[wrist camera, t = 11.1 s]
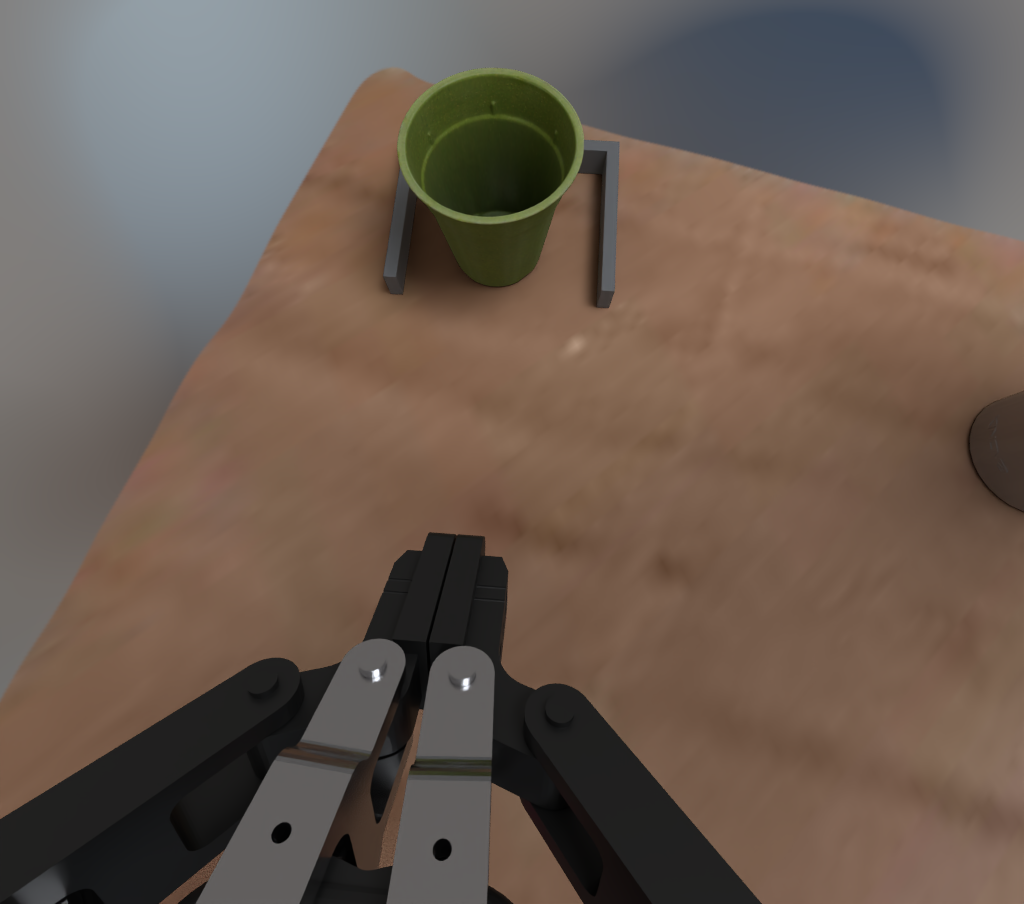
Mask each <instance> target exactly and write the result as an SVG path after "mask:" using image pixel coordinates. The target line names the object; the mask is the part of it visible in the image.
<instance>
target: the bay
mask: <svg viewBox="0 0 1024 904" xmlns="http://www.w3.org/2000/svg"><path fill="white" fill-rule="evenodd" d="M618 172H619V142H613V141H595V140H584V153H583V159H582V163H581V166H580V169H579V171H578V173H590V174H602V191H601V215H600V239H599V263H598V287H597V307H602V308H609V306H610V303H611V300H612V297H613V294H614V291H615V263H616V233H617V202H618ZM416 199H417V196H416V195H415V194H414V192H413V191H412V190H411V188H410V187H409V186H408V184H407V182H406V180H405V179H404V176H403V174H402V171H401V168H400V172H399V178H398V184H397V191H396V197H395V204H394V210H393V216H392V223H391V229H390V236H389V242H388V248H387V255H386V261H385V268H384V274H383V277H384V279H385V282H386V284H387V286H388V289H389V291H390V293H391V294H403V289H404V282H405V276H406V269H407V262H408V255H409V248H410V241H411V234H412V227H413V220H414V213H415V206H416Z"/></svg>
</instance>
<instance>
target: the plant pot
mask: <svg viewBox="0 0 1024 904" xmlns="http://www.w3.org/2000/svg"><path fill="white" fill-rule="evenodd" d="M397 153H398V160H399V165H400V168H401V171H402V174H403V176H404V179H405V180H406V182H407V184H408V186H409V187H410V188H411V190H412V191H413V192H414V194H415V195H416V196H417V197H418V198H419V199H420V200H421V201H422V202H423V203H424V204H426V205H427V207H428V208H429V210H430V211H431V212H432V213H433V215H434V216H435V218H436V220H437V222H438V224H439V226H440V228H441V230H442V232H443V234H444V236H445V238H446V240H447V242H448V244H449V246H450V248H451V250H452V252H453V254H454V256H455V258H456V260H457V262H458V264H459V266H460V267H461V269H462V270H463V271H464V272H465V273H466V274H467V275H468V276H469V277H470V278H471V279H473V280H474V281H476V282H478V283H481V284H484V285H488V286H507V285H511V284H514V283H516V282H518V281H519V280H521V279H522V278H523V277H525V276H526V275H527V274H528V273H530V272H531V271H532V270H533V269H534V267H535V266H536V264H537V262H538V260H539V257H540V254H541V251H542V248H543V245H544V242H545V239H546V236H547V233H548V230H549V226H550V223H551V220H552V217H553V214H554V211H555V208H556V206H557V205H558V203H559V201H560V199H561V197H562V195H563V194H564V193H565V192H566V191H567V190H568V188H569V187H570V186H571V184H572V183H573V181H574V179H575V177H576V175H577V173H578V171H579V169H580V166H581V163H582V159H583V153H584V135H583V129H582V126H581V123H580V120H579V117H578V115H577V113H576V111H575V110H574V108H573V107H572V105H571V104H570V103H569V102H568V101H567V99H566V98H565V97H564V96H563V95H562V94H561V93H560V92H559V91H558V90H557V89H555V88H554V87H553V86H551V85H550V84H548V83H547V82H545V81H543V80H541V79H539V78H537V77H535V76H533V75H530V74H527V73H524V72H521V71H517V70H512V69H503V68H502V69H501V68H481V69H473V70H469V71H465V72H461V73H458V74H455V75H452V76H450V77H448V78H446V79H443V80H442V81H440V82H438V83H437V84H435V85H434V86H432V87H431V88H429V89H428V90H427V91H425V92H424V93H423V94H422V95H421V96H420V97H419V98H418V99H417V100H416V101H415V102H414V104H413V105H412V106H411V108H410V109H409V111H408V112H407V114H406V116H405V118H404V120H403V122H402V125H401V127H400V131H399V136H398V142H397Z"/></svg>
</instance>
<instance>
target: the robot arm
mask: <svg viewBox="0 0 1024 904" xmlns="http://www.w3.org/2000/svg"><path fill="white" fill-rule="evenodd" d="M970 452H971V456H972V460H973V463H974V465H975V467H976V469H977V472H978V474H979V475H980V477H981V478H982V480H983V481H984V482H985V484H986V485H987V487H988V488H989V489H990V490H991V491H993V492H994V493H995V494H996V495H997V496H998V497H999V498H1000V499H1002V500H1003V501H1005V502H1006V503H1008V504H1009V505H1011V506H1013V507H1015V508H1017V509H1019V510H1021V511H1024V391H1022V392H1019V393H1017V394H1014V395H1011V396H1009V397H1006V398H1003V399H1001V400H998V401H995V402H993V403H992V404H990V405H989V406H987V407H986V408H984V409H983V411H982V412H981V413H980V414H979V415H978V416H977V418H976V420H975V422H974V424H973V426H972V430H971V434H970ZM507 587H508V570H507V568H506V565H505V563H504V561H503V559H502V557H494V556H485V536H473V535H460V534H458V535H456V534H445V533H431V532H430V533H429V534H428V536H427V538H426V541H425V544H424V547H423V550H422V551H414V550H407V551H406V552H405V553H404V554H403V555H402V556H401V557H400V558H399V559H398V560H397V561H396V562H395V563H394V566H393V568H392V571H391V573H390V576H389V579H388V581H387V583H386V586H385V588H384V592H383V593H382V595H381V598H380V600H379V603H378V605H377V608H376V610H375V613H374V615H373V618H372V620H371V623H370V625H369V628H368V630H367V633H366V635H365V638H364V640H363V642H362V643H360V644H358V645H356V646H355V647H353V648H352V649H351V650H350V651H349V652H348V653H347V654H346V655H345V656H344V658H343V660H342V661H341V662H339V663H337V664H335V665H332V666H328V667H324V668H319V669H314V670H309V671H304V672H299V670H298V668H297V666H296V665H295V664H294V663H293V662H291V661H290V660H287V659H284V658H269V659H264V660H261V661H258V662H256V663H254V664H252V665H250V666H248V667H247V668H245V669H244V670H242V671H240V672H239V673H237V674H235V675H234V676H232V677H231V678H229V679H227V680H226V681H224V682H222V683H221V684H219V685H218V686H216V687H214V688H213V689H211V690H209V691H208V692H206V693H205V694H203V695H201V696H200V697H198V698H196V699H195V700H193V701H192V702H190V703H188V704H187V705H185V706H183V707H182V708H180V709H179V710H177V711H175V712H174V713H172V714H170V715H169V716H167V717H166V718H164V719H162V720H161V721H159V722H157V723H156V724H154V725H153V726H151V727H149V728H148V729H146V730H145V731H143V732H141V733H140V734H138V735H136V736H135V737H133V738H132V739H130V740H128V741H127V742H125V743H123V744H122V745H120V746H119V747H117V748H115V749H114V750H112V751H110V752H109V753H107V754H106V755H104V756H102V757H101V758H99V759H97V760H96V761H94V762H93V763H91V764H89V765H88V766H86V767H84V768H83V769H81V770H80V771H78V772H76V773H75V774H73V775H71V776H70V777H68V778H67V779H65V780H63V781H62V782H60V783H58V784H57V785H55V786H54V787H52V788H50V789H49V790H47V791H45V792H44V793H42V794H41V795H39V796H37V797H36V798H34V799H32V800H31V801H29V802H28V803H26V804H24V805H23V806H21V807H19V808H18V809H16V810H15V811H13V812H11V813H10V814H8V815H6V816H5V817H3V818H2V819H0V904H159V903H160V902H161V901H163V900H164V899H165V898H166V897H167V896H169V895H170V894H171V893H172V892H173V891H175V890H176V889H177V888H178V887H180V886H181V885H182V884H183V883H184V882H186V881H187V880H188V879H189V878H191V877H192V876H193V875H194V874H195V873H197V872H198V871H199V870H200V869H201V868H203V867H204V866H205V865H206V864H208V863H209V862H210V861H211V860H212V859H214V858H215V857H216V856H217V855H218V854H220V853H221V852H222V851H223V850H225V851H224V853H223V855H222V856H221V858H220V860H219V862H218V864H217V866H216V867H215V869H214V871H213V873H212V875H211V877H210V878H209V880H208V881H207V882H205V883H204V884H202V885H201V886H199V887H198V888H197V889H195V890H194V891H193V892H191V893H190V894H189V895H187V896H186V897H185V898H184V899H183V900H181V901H180V902H179V903H178V904H513V903H512V902H511V901H510V900H509V899H508V898H506V897H505V896H504V895H503V894H501V893H500V892H498V891H497V890H495V889H494V888H492V887H490V886H488V880H489V847H490V815H491V784H492V783H494V784H496V785H498V786H500V787H502V788H504V789H506V790H508V791H510V792H512V793H514V794H516V795H518V796H520V799H521V802H522V804H523V806H524V808H525V810H526V811H527V813H528V815H529V816H530V818H531V819H532V821H533V823H534V824H535V826H536V828H537V829H538V831H539V832H540V834H541V836H542V837H543V839H544V840H545V842H546V844H547V845H548V847H549V849H550V850H551V852H552V853H553V855H554V857H555V858H556V860H557V861H558V863H559V865H560V866H561V868H562V869H563V871H564V873H565V874H566V876H567V878H568V879H569V881H570V882H571V884H572V886H573V887H574V889H575V890H576V892H577V894H578V895H579V897H580V899H581V900H582V902H583V903H584V904H761V902H760V901H759V900H758V899H757V898H756V897H755V895H754V894H753V893H752V892H751V891H750V889H749V888H748V887H747V886H746V885H745V884H744V882H743V881H742V880H741V879H740V878H739V877H738V875H737V874H736V873H735V872H734V871H733V870H732V868H731V867H730V866H729V865H728V864H727V863H726V861H725V860H724V859H723V858H722V857H721V855H720V854H719V853H718V852H717V851H716V850H715V848H714V847H713V846H712V845H711V844H710V843H709V841H708V840H707V839H706V838H705V837H704V836H703V834H702V833H701V832H700V831H699V830H698V829H697V827H696V826H695V825H694V824H693V823H692V822H691V820H690V819H689V818H688V817H687V816H686V814H685V813H684V812H683V811H682V810H681V809H680V807H679V806H678V805H677V804H676V803H675V802H674V800H673V799H672V798H671V797H670V796H669V795H668V793H667V792H666V791H665V790H664V789H663V788H662V786H661V785H660V784H659V783H658V782H657V780H656V779H655V778H654V777H653V776H652V775H651V773H650V772H649V771H648V770H647V769H646V768H645V766H644V765H643V764H642V763H641V762H640V761H639V759H638V758H637V757H636V756H635V755H634V754H633V752H632V751H631V750H630V749H629V748H628V747H627V745H626V744H625V743H624V742H623V741H622V739H621V738H620V737H619V736H618V735H617V734H616V732H615V731H614V730H613V729H612V728H611V727H610V725H609V724H608V723H607V722H606V721H605V720H604V718H603V717H602V716H601V715H600V714H599V713H598V711H597V710H596V709H595V708H594V707H593V705H592V704H591V703H590V702H589V701H588V700H587V698H586V697H585V696H584V695H583V694H582V693H580V692H579V691H578V690H576V689H574V688H573V687H570V686H568V685H564V684H548V685H544V686H542V687H540V688H538V689H537V690H535V689H532V688H530V687H527V686H525V685H523V684H521V683H519V682H517V681H515V680H514V679H512V678H511V677H510V676H509V675H508V674H507V673H506V671H505V670H504V669H503V667H502V665H501V658H502V648H503V639H504V629H505V621H506V612H507ZM419 709H423V710H424V711H423V717H422V724H421V730H420V736H419V742H418V749H417V755H416V760H415V763H414V765H411V768H410V771H409V775H408V779H407V785H406V791H405V796H404V802H403V808H402V814H401V820H400V826H399V832H398V838H397V844H396V850H395V856H394V862H393V866H389V867H384V868H380V869H378V867H379V862H380V856H381V848H382V840H383V835H384V831H385V827H386V824H387V821H388V818H389V815H390V811H391V808H392V805H393V802H394V799H395V796H396V793H397V790H398V787H399V784H400V781H401V777H402V774H403V771H404V768H405V765H406V762H407V759H408V756H409V753H410V750H411V747H412V743H413V730H414V727H415V723H416V719H417V715H418V711H419Z"/></svg>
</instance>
